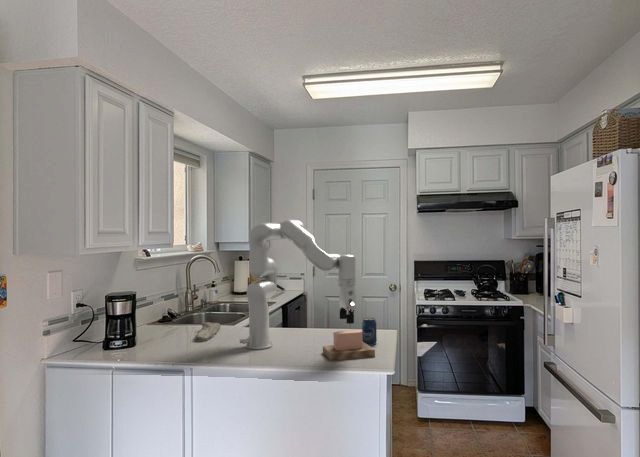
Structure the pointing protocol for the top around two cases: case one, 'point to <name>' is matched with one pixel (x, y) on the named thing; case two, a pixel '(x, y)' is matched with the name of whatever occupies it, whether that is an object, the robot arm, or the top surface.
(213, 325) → the elongated rock
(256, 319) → the robot arm
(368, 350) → the walnut stand
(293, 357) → the top surface
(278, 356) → the top surface
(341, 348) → the terracotta block
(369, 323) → the soda can
